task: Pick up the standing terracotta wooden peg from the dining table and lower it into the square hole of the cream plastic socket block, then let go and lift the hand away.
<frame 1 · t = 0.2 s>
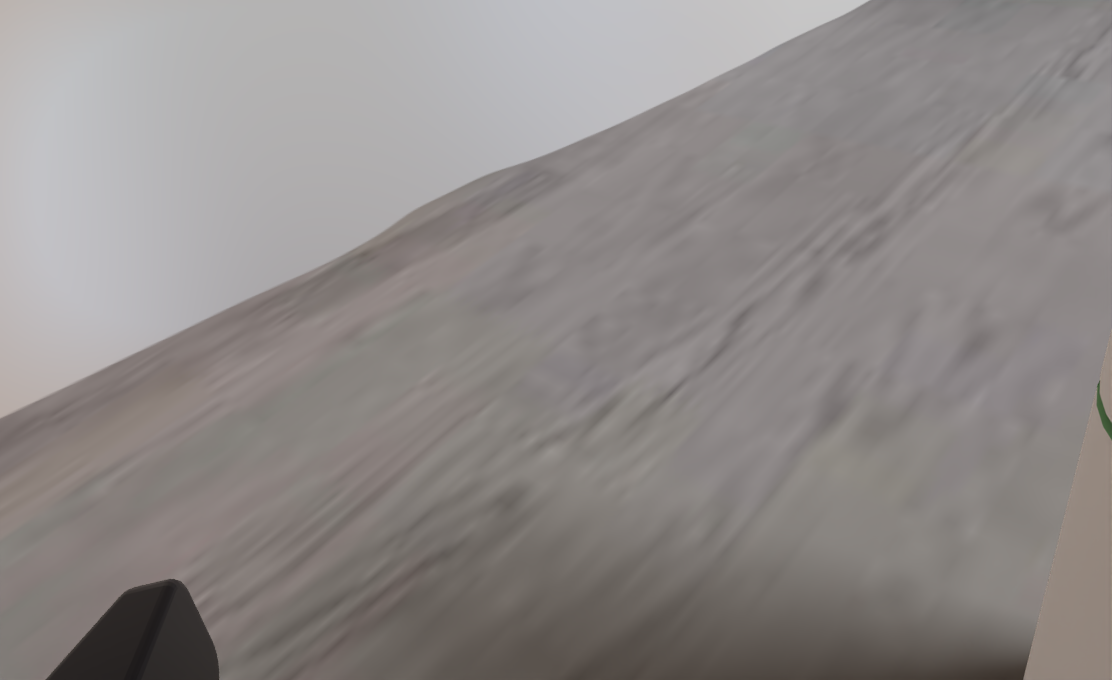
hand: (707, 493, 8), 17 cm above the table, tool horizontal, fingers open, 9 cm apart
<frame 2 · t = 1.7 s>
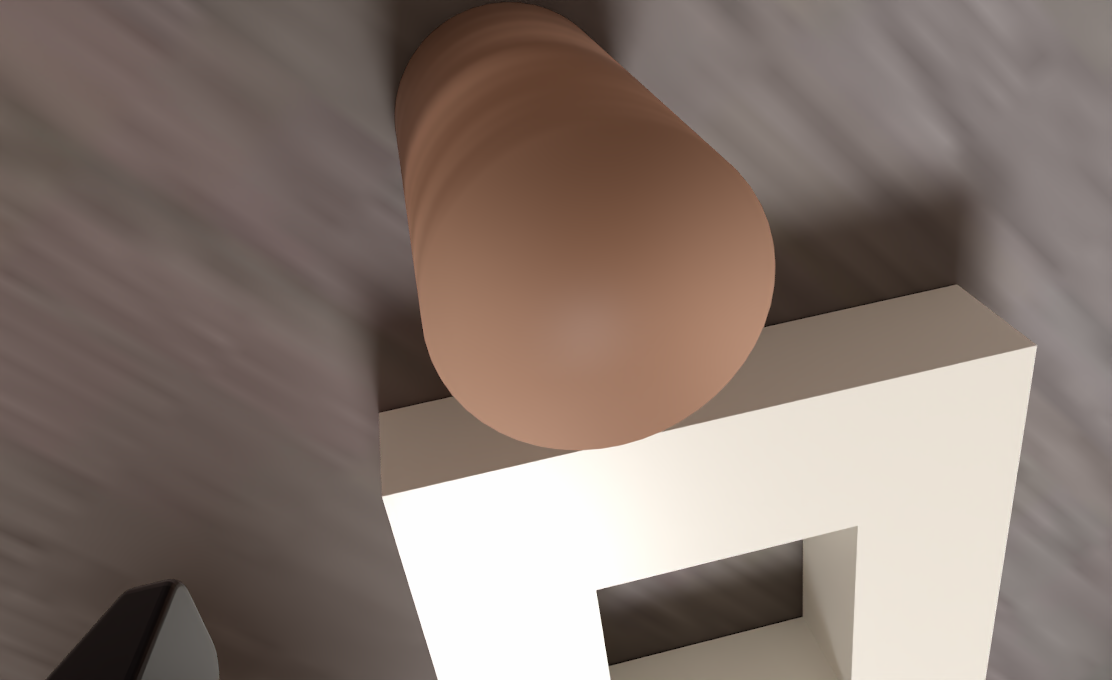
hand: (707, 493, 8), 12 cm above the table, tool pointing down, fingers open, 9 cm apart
socket: (694, 564, 25), on the table
peg: (508, 119, 18), on the table
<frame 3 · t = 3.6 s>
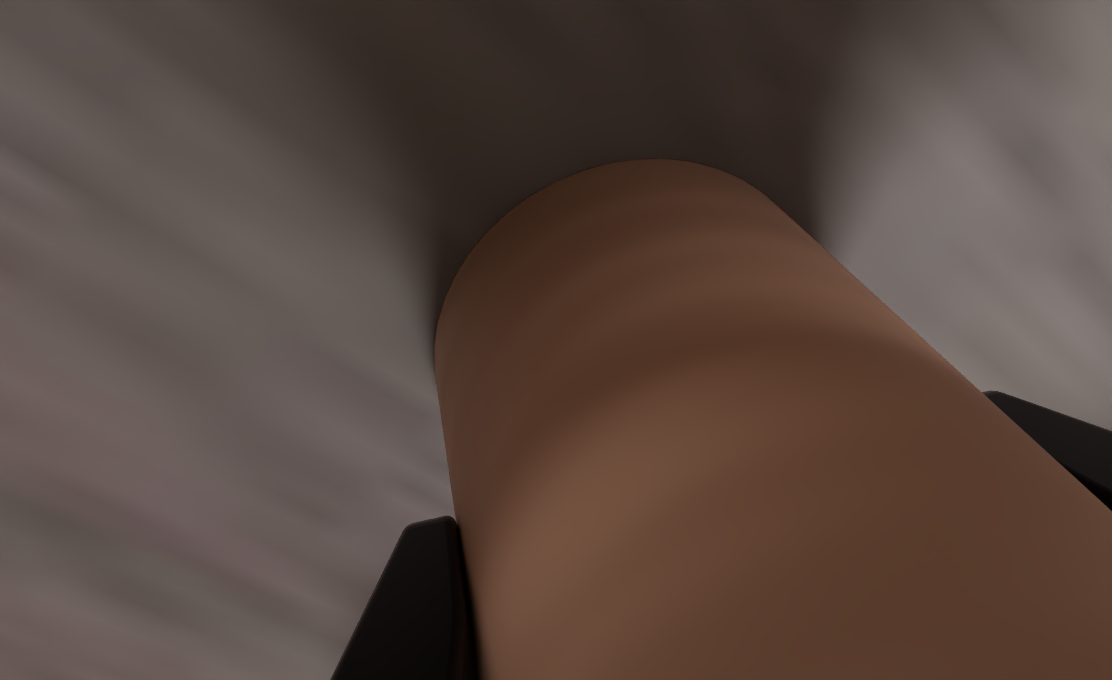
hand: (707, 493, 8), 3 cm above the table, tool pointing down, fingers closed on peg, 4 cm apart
peg: (632, 349, 10), on the table, touching gripper
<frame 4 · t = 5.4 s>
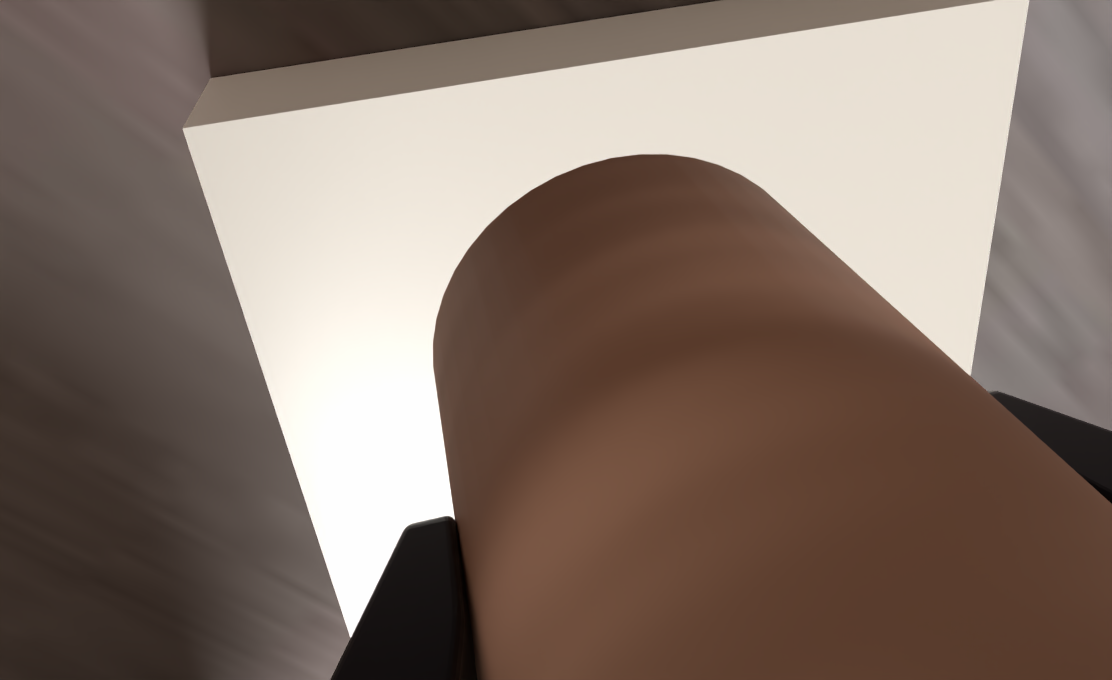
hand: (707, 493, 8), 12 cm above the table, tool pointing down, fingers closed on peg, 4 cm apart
socket: (614, 336, 21), on the table
peg: (631, 346, 10), point 9 cm above the table, touching gripper
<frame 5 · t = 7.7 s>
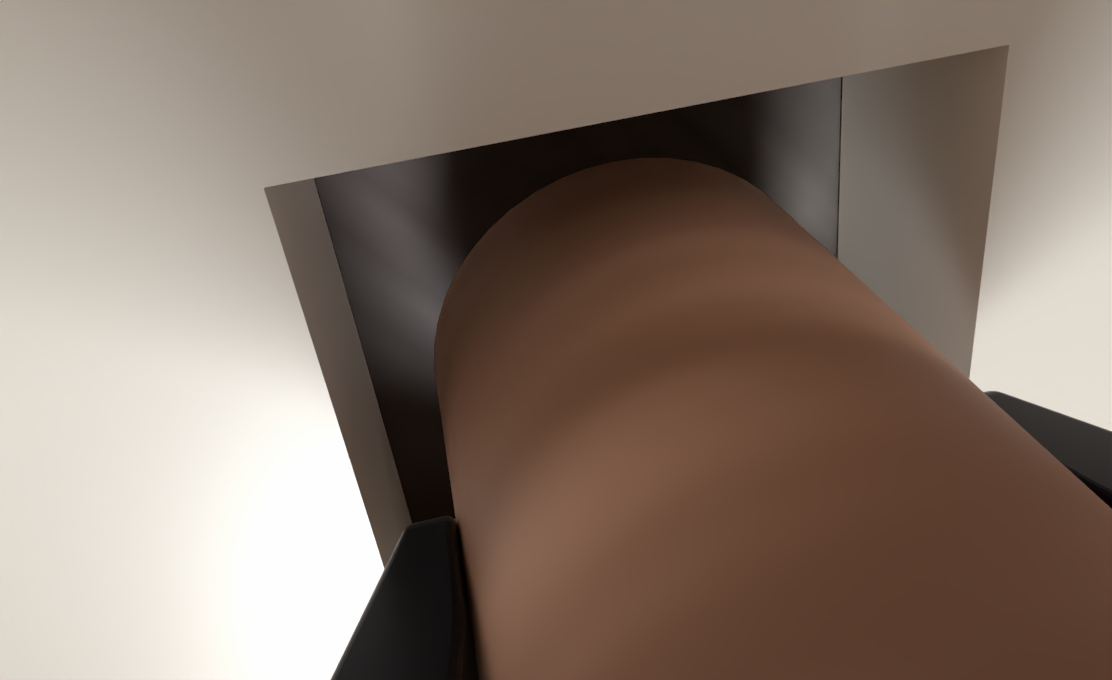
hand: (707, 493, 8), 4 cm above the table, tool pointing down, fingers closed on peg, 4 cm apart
socket: (605, 288, 11), on the table
peg: (632, 349, 10), point 2 cm above the table, touching gripper
when the fingers open (4 cm above the table, at t = 8.4 s): peg drops 1 cm, resting in socket.
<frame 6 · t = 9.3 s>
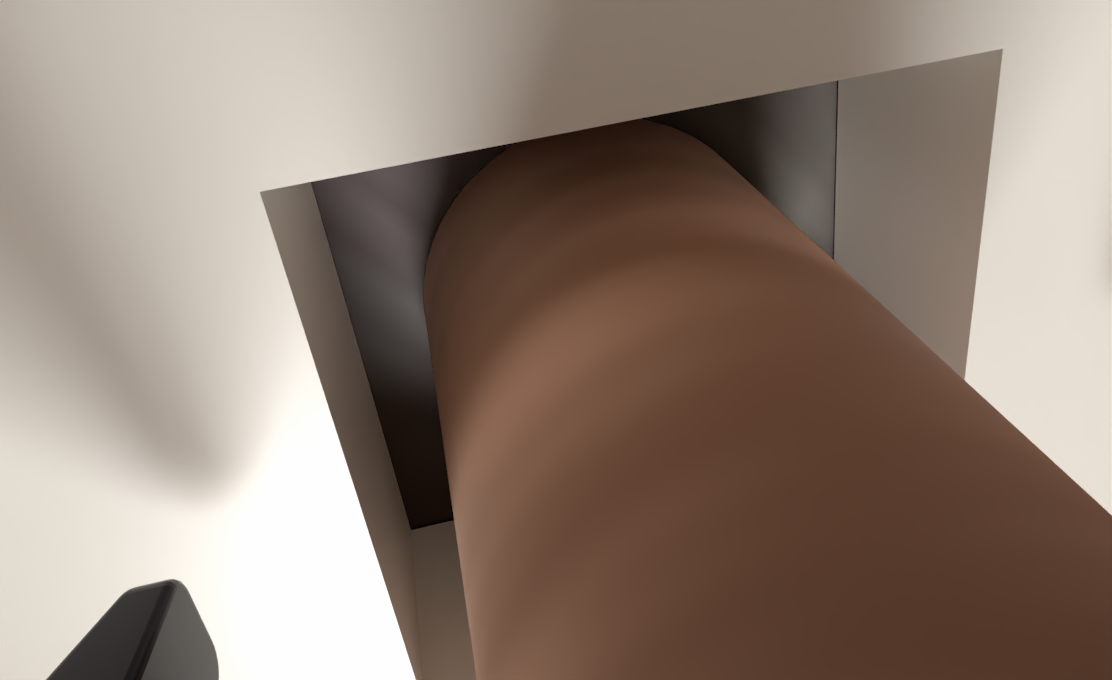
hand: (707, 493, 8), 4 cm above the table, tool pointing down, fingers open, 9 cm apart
socket: (601, 291, 12), on the table
peg: (599, 289, 12), resting in socket
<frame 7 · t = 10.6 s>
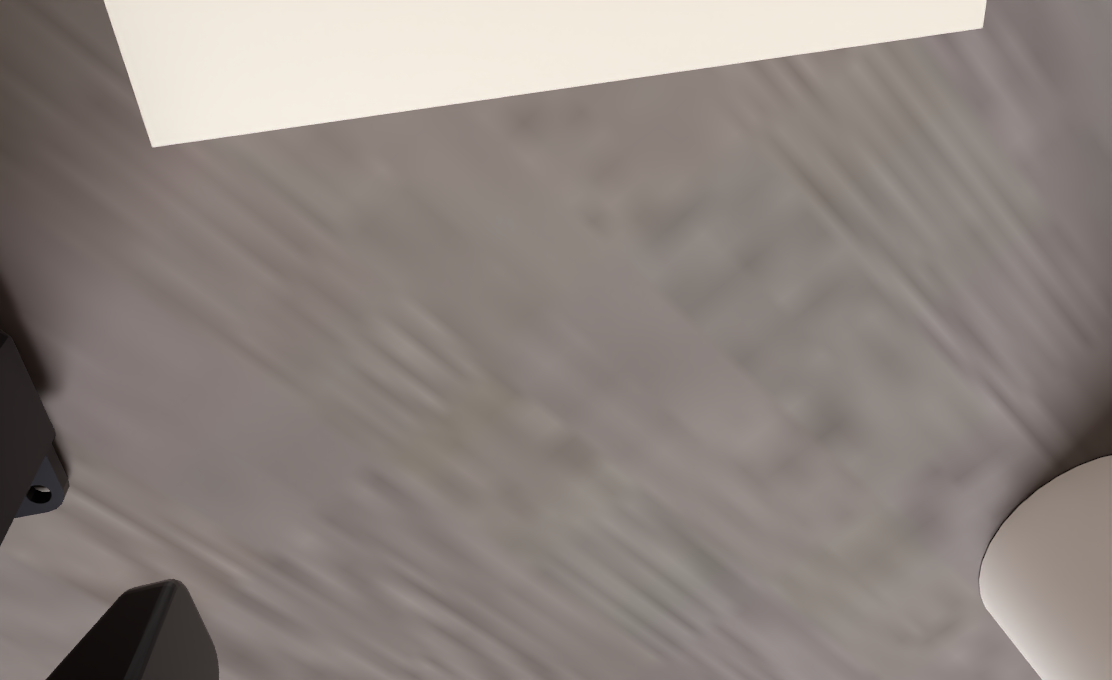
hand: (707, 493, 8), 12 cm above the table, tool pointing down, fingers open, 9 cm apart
cylindrical container: (1084, 542, 28), on the table
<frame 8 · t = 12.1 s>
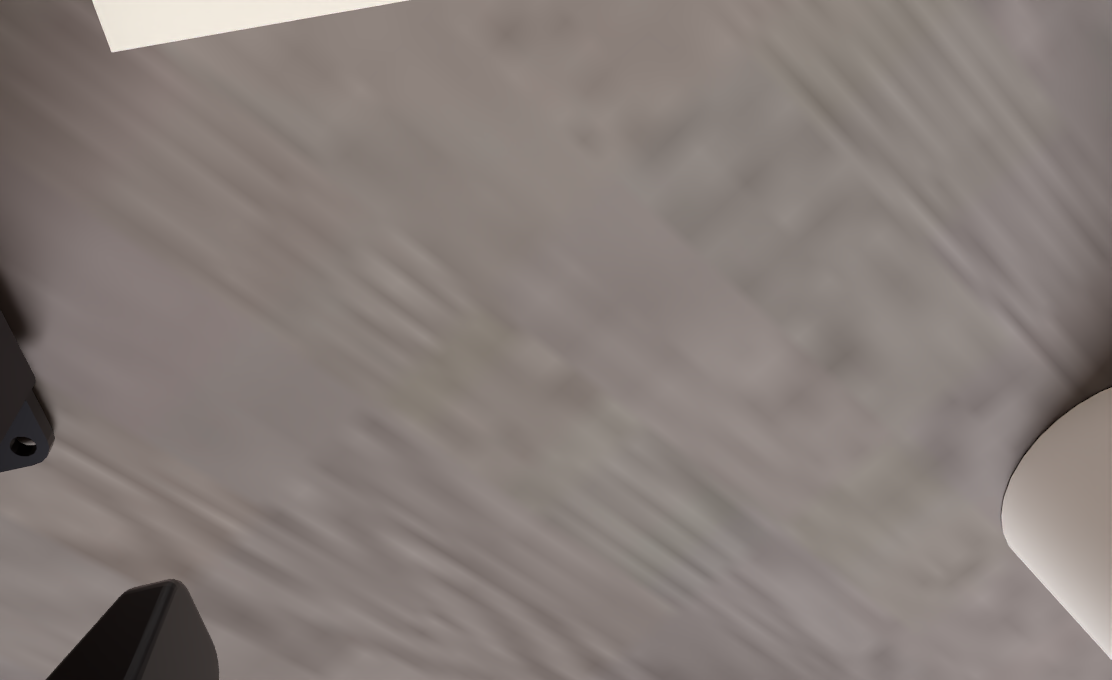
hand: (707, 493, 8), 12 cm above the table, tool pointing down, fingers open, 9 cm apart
cylindrical container: (1109, 474, 27), on the table
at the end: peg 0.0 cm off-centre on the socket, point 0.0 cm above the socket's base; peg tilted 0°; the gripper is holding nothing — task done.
